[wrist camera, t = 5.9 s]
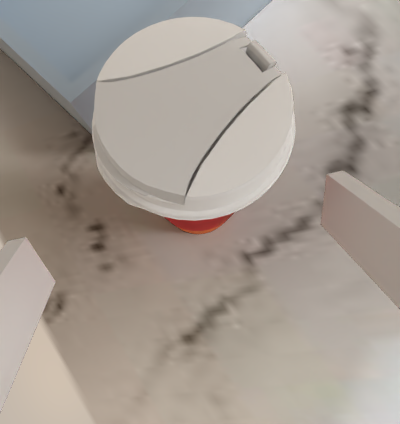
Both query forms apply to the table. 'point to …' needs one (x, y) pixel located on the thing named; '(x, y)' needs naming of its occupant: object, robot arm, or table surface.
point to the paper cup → (192, 121)
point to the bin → (92, 38)
